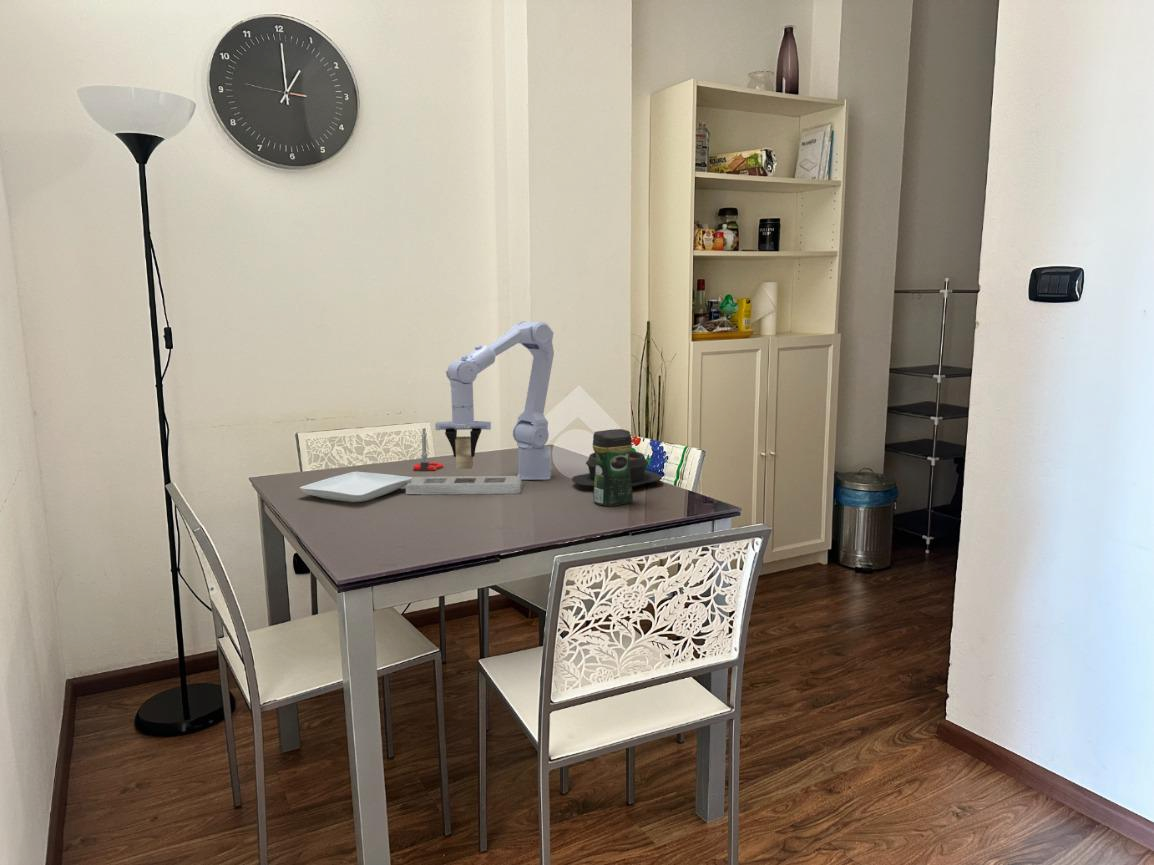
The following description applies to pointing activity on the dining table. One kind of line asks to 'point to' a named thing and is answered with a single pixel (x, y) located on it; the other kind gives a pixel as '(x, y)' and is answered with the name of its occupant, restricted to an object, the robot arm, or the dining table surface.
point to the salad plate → (356, 486)
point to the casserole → (636, 471)
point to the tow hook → (424, 464)
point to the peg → (463, 453)
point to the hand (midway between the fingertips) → (464, 456)
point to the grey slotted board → (465, 485)
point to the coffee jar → (612, 467)
